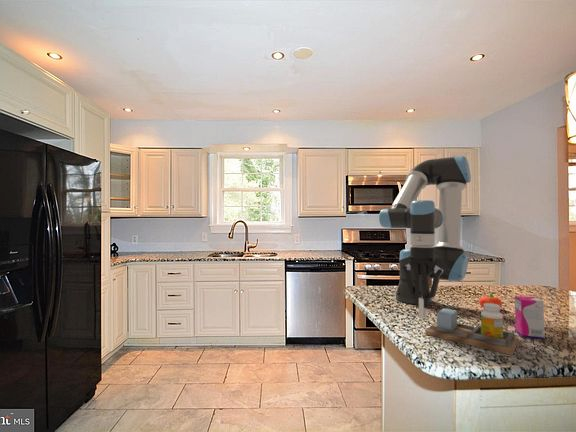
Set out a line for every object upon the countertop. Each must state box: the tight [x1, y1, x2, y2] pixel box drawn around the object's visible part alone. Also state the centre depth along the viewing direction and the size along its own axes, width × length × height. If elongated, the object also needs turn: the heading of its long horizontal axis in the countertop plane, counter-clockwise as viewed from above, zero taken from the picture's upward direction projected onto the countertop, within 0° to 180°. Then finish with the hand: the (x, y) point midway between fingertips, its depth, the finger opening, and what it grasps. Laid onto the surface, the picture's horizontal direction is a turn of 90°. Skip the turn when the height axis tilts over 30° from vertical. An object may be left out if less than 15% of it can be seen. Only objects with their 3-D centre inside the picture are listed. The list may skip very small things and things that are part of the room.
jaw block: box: [436, 308, 458, 331], centre depth 97 cm, size 4×7×5 cm, turn 138°
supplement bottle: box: [480, 303, 504, 339], centre depth 89 cm, size 5×5×10 cm
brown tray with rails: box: [425, 321, 519, 356], centre depth 93 cm, size 22×13×3 cm, turn 48°
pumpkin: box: [478, 292, 503, 309], centre depth 123 cm, size 7×8×6 cm
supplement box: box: [514, 295, 546, 340], centre depth 95 cm, size 6×6×12 cm
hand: (422, 317), depth 102 cm, fingers closed
